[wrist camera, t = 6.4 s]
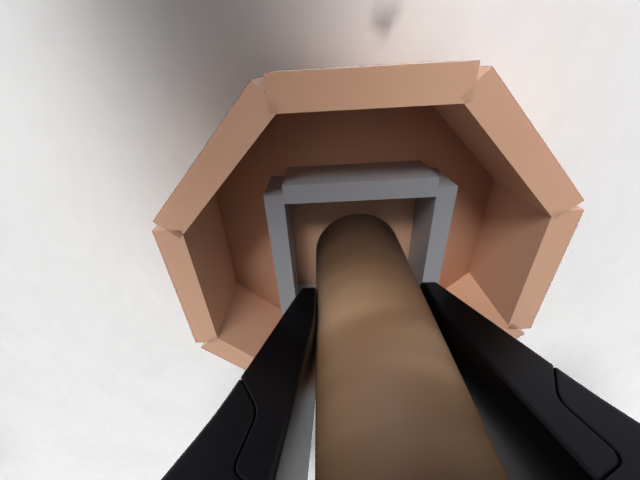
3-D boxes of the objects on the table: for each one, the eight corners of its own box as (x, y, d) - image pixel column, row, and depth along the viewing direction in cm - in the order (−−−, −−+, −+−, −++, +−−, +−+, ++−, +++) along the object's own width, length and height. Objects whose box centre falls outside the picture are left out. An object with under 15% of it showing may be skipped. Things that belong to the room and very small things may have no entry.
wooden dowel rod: (401, 212, 10) (695, 719, 2) (394, 281, 12) (554, 725, 4) (313, 215, 10) (303, 726, 2) (318, 284, 12) (321, 728, 4)
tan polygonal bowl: (540, 55, 9) (656, 50, 6) (464, 322, 15) (502, 389, 12) (168, 76, 9) (94, 82, 6) (238, 332, 15) (218, 401, 12)
